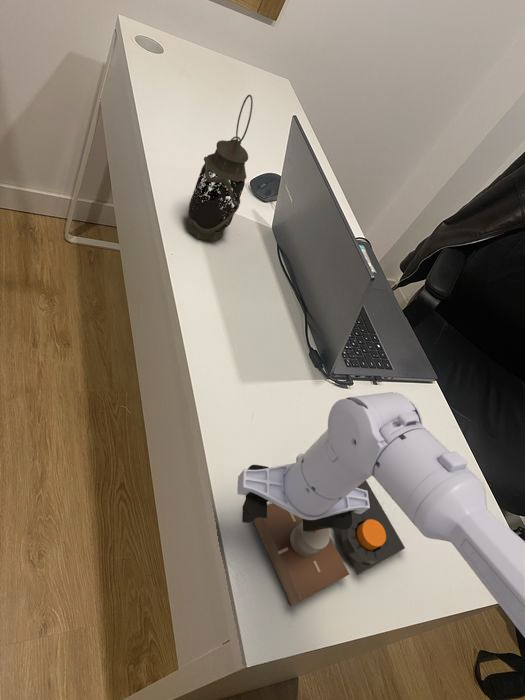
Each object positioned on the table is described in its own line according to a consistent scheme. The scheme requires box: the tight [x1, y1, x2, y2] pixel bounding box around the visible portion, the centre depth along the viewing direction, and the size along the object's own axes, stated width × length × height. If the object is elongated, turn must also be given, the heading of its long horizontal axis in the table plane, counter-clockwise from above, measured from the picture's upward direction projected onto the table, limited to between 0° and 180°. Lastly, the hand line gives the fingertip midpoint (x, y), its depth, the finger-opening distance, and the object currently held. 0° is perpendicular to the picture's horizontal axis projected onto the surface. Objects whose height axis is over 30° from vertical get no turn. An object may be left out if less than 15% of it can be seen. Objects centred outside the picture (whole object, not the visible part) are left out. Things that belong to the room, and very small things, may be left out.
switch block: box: [332, 480, 406, 575], centre depth 70 cm, size 11×9×4 cm
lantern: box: [187, 94, 254, 243], centre depth 90 cm, size 10×9×28 cm
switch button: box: [356, 519, 386, 550], centre depth 67 cm, size 4×4×2 cm
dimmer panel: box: [252, 502, 350, 607], centre depth 65 cm, size 12×8×3 cm
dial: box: [290, 522, 331, 557], centre depth 63 cm, size 4×4×4 cm
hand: (275, 518), depth 59 cm, fingers open, 7 cm apart
